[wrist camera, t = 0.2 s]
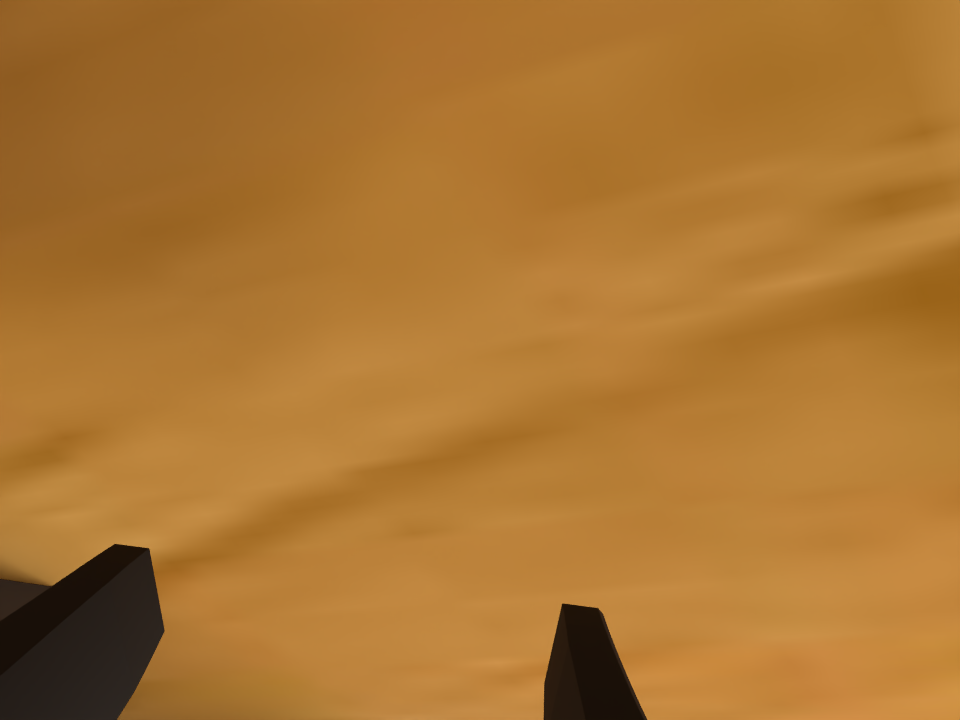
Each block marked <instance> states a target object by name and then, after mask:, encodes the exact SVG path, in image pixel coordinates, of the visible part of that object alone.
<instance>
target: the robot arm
mask: <svg viewBox="0 0 960 720" xmlns="http://www.w3.org/2000/svg"><path fill="white" fill-rule="evenodd" d="M163 633H164V625H163V620H162V614H161V609H160V604H159V598H158V593H157V588H156V582H155V577H154V572H153V566H152V561H151V556H150V550H149V548H142V547H134V546H127V545H119V544H114V545H113V546H111V547H110V548H108V549H106V550H105V551H103V552H102V553H100V554H99V555H97V556H96V557H94V558H93V559H91V560H90V561H88V562H87V563H85V564H84V565H82V566H81V567H79V568H78V569H76V570H75V571H74V572H72V573H71V574H69V575H68V576H66V577H65V578H63V579H62V580H60V581H59V582H57V583H56V584H55V585H53V586H52V587H50V588H49V589H47V590H46V591H44V592H43V593H41V594H40V595H38V596H37V597H35V598H34V599H32V600H31V601H29V602H28V603H26V604H25V605H23V606H22V607H20V608H19V609H17V610H16V611H14V612H13V613H11V614H10V615H8V616H7V617H5V618H4V619H2V620H1V621H0V720H117V718H118V717H119V715H120V714H121V712H122V710H123V709H124V707H125V706H126V704H127V702H128V701H129V699H130V698H131V696H132V694H133V693H134V691H135V689H136V687H137V685H138V684H139V682H140V680H141V678H142V676H143V674H144V672H145V670H146V668H147V666H148V664H149V662H150V660H151V658H152V656H153V654H154V652H155V650H156V648H157V646H158V643H159V641H160V639H161V637H162V635H163ZM544 720H647V718H646V716H645V714H644V712H643V710H642V708H641V706H640V704H639V701H638V699H637V697H636V695H635V693H634V690H633V688H632V686H631V684H630V681H629V679H628V677H627V674H626V672H625V670H624V667H623V665H622V663H621V660H620V658H619V655H618V653H617V650H616V648H615V645H614V643H613V640H612V638H611V635H610V632H609V630H608V627H607V624H606V621H605V619H604V616H603V614H602V612H601V611H600V610H599V609H598V608H592V607H585V606H577V605H570V604H562V607H561V612H560V616H559V621H558V625H557V629H556V634H555V638H554V643H553V647H552V652H551V656H550V661H549V665H548V670H547V674H546V678H545V684H544Z"/></svg>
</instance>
